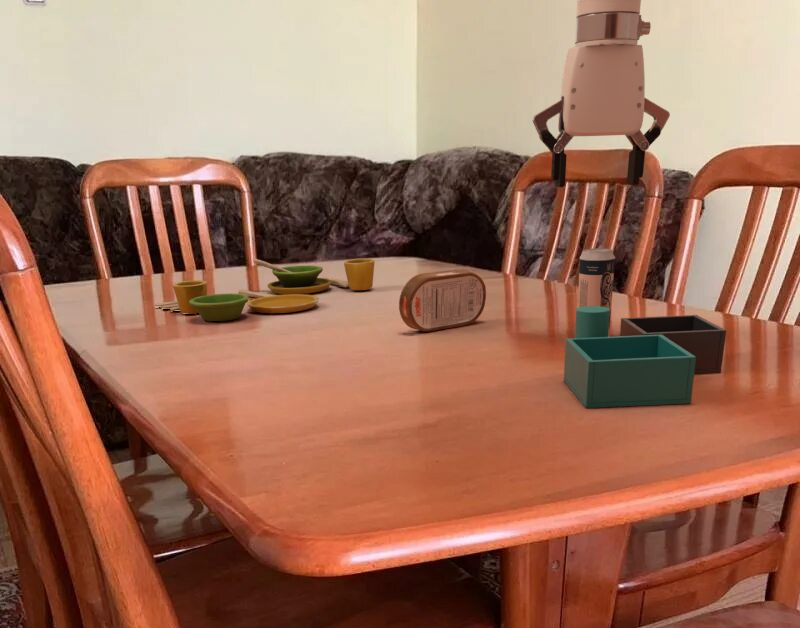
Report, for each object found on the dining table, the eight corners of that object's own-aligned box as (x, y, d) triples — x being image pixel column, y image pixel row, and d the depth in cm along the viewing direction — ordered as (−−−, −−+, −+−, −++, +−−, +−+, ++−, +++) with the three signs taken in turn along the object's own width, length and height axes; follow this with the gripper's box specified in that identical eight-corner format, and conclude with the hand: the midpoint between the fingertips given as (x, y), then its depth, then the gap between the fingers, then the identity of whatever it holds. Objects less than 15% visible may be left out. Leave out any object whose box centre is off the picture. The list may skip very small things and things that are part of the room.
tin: (476, 319, 132) (477, 265, 129) (489, 322, 130) (489, 267, 126) (398, 333, 125) (396, 276, 122) (410, 336, 123) (408, 278, 119)
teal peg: (601, 361, 105) (605, 305, 102) (609, 369, 102) (613, 311, 99) (570, 362, 105) (572, 306, 102) (577, 370, 102) (580, 312, 99)
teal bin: (657, 376, 98) (661, 334, 96) (690, 403, 88) (696, 356, 85) (563, 380, 98) (565, 338, 95) (585, 408, 87) (588, 361, 85)
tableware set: (327, 280, 177) (325, 249, 174) (409, 294, 157) (408, 259, 154) (144, 308, 154) (138, 272, 151) (212, 328, 134) (206, 288, 131)
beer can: (610, 342, 114) (616, 252, 109) (575, 342, 115) (580, 252, 110) (608, 335, 119) (614, 247, 114) (574, 335, 120) (579, 248, 114)
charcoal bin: (692, 353, 107) (696, 314, 105) (720, 372, 98) (726, 330, 96) (618, 357, 107) (621, 318, 105) (640, 376, 98) (643, 334, 96)
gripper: (666, 35, 105) (652, 182, 112) (530, 39, 104) (525, 186, 112) (687, 28, 98) (670, 184, 105) (542, 32, 98) (535, 189, 105)
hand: (596, 185), depth 108 cm, fingers open, 9 cm apart
